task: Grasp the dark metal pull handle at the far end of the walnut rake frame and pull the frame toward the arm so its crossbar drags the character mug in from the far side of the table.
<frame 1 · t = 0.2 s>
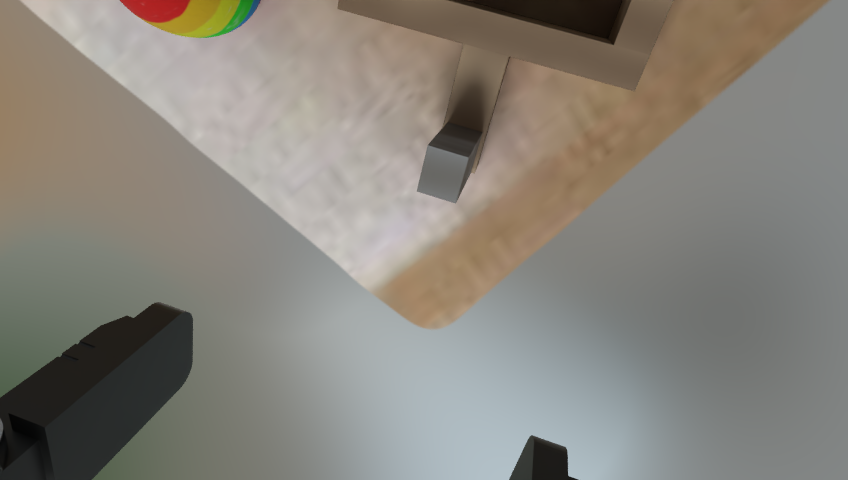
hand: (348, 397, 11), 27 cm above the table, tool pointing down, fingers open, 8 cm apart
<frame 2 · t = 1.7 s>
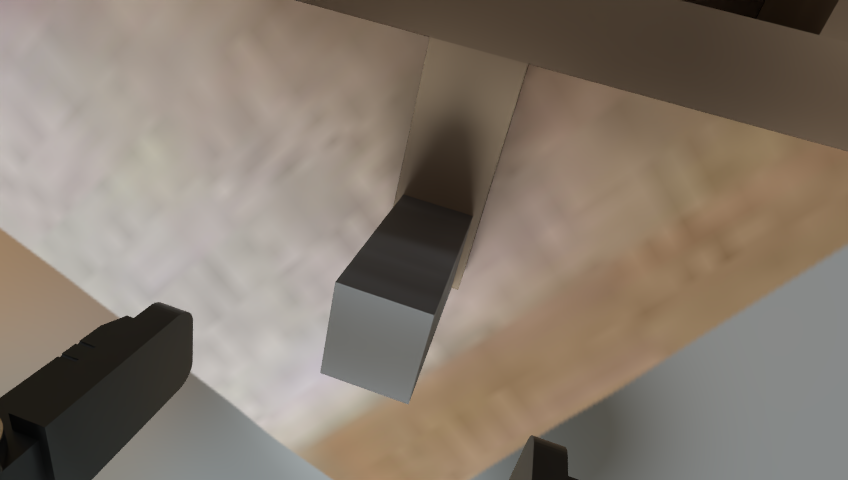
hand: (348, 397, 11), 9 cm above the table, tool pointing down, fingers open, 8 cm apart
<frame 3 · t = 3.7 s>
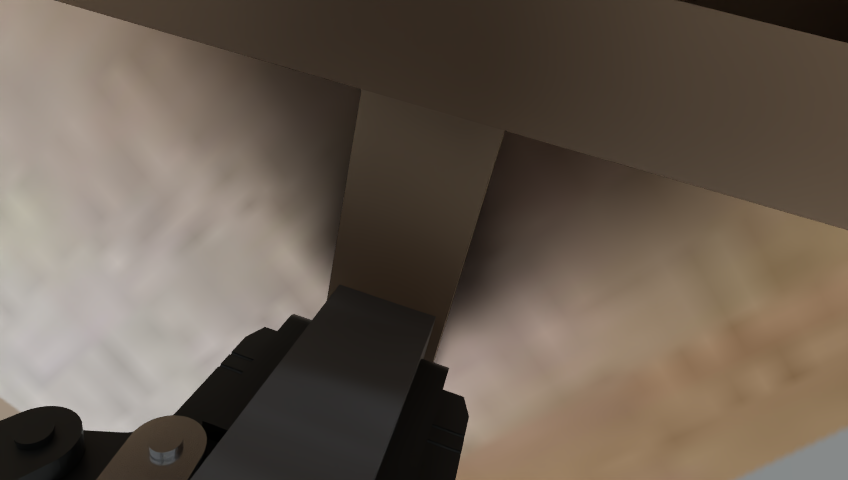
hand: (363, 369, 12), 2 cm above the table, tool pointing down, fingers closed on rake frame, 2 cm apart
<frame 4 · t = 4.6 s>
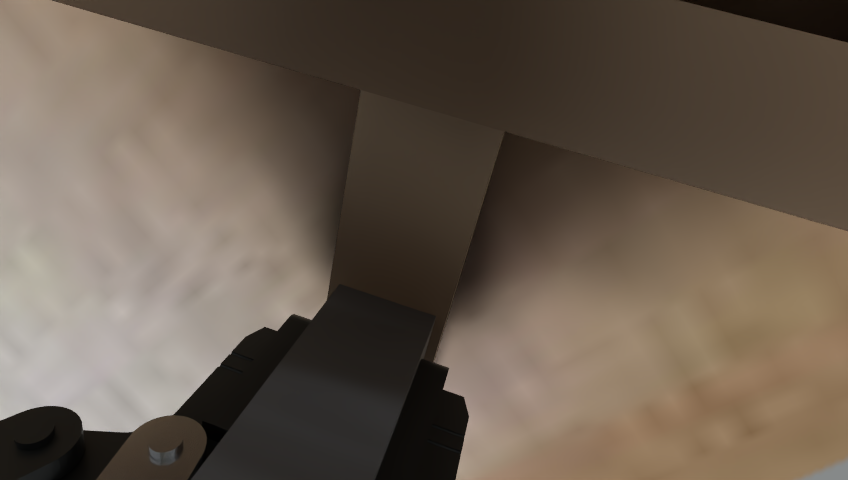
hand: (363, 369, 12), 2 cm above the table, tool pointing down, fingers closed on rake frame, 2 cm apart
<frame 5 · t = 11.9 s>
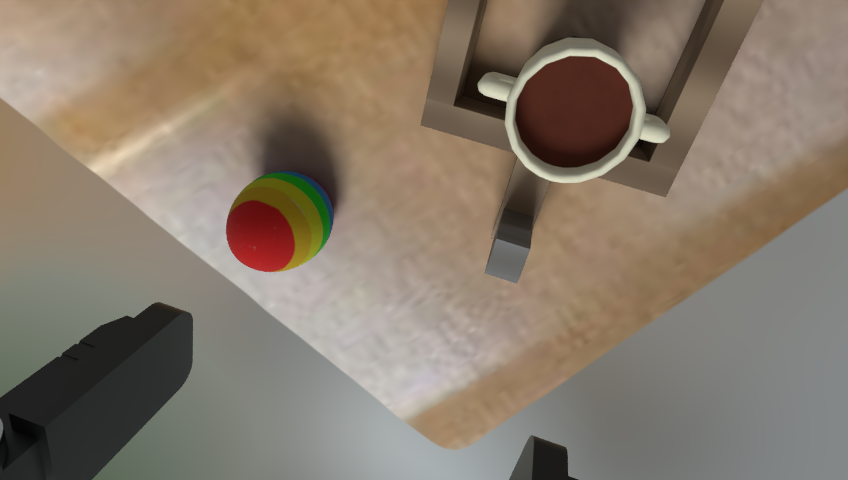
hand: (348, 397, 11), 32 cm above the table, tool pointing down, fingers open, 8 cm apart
decorative egg: (304, 203, 47), on the table
rake frame: (560, 100, 35), point 4 cm above the table, slide at 11.5 cm
character mug: (568, 81, 38), resting in rake frame
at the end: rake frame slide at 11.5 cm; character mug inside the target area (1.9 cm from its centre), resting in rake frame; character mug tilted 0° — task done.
